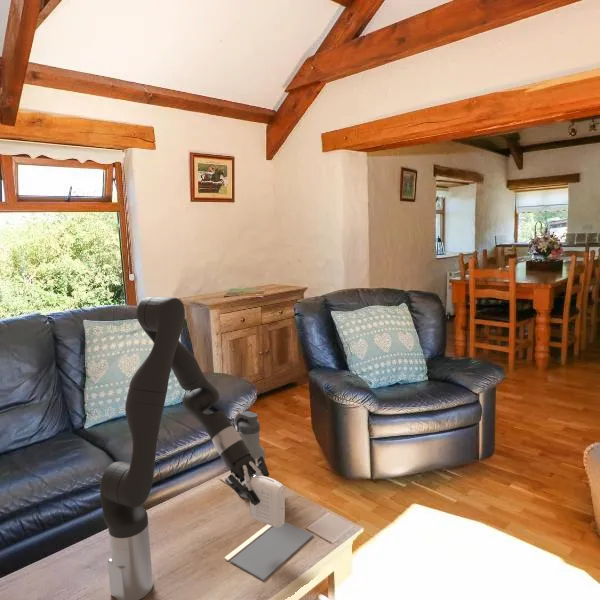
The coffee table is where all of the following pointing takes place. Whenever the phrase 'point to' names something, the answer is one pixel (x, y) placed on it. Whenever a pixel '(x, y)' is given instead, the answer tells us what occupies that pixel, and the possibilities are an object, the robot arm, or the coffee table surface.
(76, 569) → the coffee table surface
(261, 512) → the photo printer
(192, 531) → the coffee table surface
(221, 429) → the robot arm
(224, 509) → the coffee table surface
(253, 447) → the water bottle
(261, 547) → the mat
